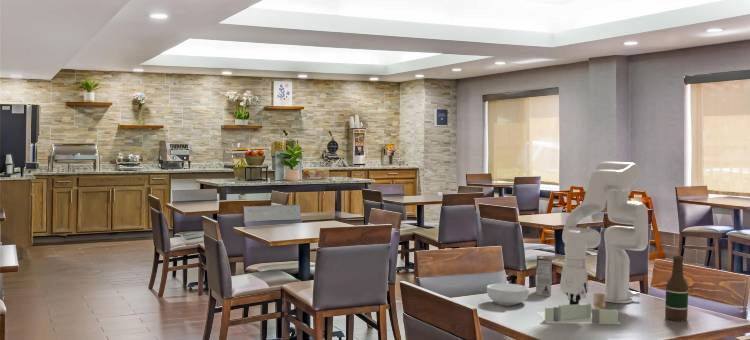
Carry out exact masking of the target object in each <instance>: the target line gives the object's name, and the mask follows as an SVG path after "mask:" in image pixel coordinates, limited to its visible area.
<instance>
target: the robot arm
mask: <svg viewBox="0 0 750 340" xmlns="http://www.w3.org/2000/svg"><path fill="white" fill-rule="evenodd" d="M640 173H641V171H640V167H639V165H638V164H636V163H634V162H628V161H627V162H625V161H623V162H622V161H602V162H599V163H597V164H596V166H595V170H594V171H593V172H592V173H591V175H590V177H589V180H588V183H587V184H588V185H587V186H586V187H587V188H586V190H585V194H584V197H583V201H582V203H580V204H579V205H577V206H576V207H575V208H574V209H573V210H572V211H571V212H570V213H569V214H568V216H567V217H566V220H565V222H564V226H563V230H562V235H561V238H562V242H563V244H565V245H564V246H565V250H564V258H563V261H564V265H562V269H561V274H560V284H559V286H560V290H561V291H562V293H563V294H564V295H566V296H567V298H568V299H567V300H568V301H569V305H572V304H580V303H579V302H580V301H581V299H586V298H587V294H588V291H589V290H588V289H589V279H588V278H589V277H588V270H587V267H586V261H587V260H586V257H587V256H586V255H587V249H595V248H598V246H599V245H600V244H601V241H602V238H601V237H602V236H601V234H600V232H599V231H598V230H597V229H595V228H585V227H577V225H578V223H579V222H580V221H582V220H583V219H585V218H587V217H589V216H593V215H595V214H599V213H600V212H602V211H603V212H604V210H605V209H606V210H607V212H606V213H607V218H608V220H609V221H610V222H612V223H616V224H620V225H611V226H608V227H607V228H605V230H604V233H603V238H604V239H603V240H604V246H605V277H604V278H605V279H604V280H605V283H604V294H605V295H606V297H605V303H606V302H607V303H610V304H611V303H612V304H631V303H632V302H633V297H634V298H636V297H637V298H640V297H641V292H639V291H637V292H636V291H632V290H630V264H631V263H630V262H631V260H630V256H629V255H628V253H627V251H626V250H628V251H635V252H636V251H638V252H641V251H645V250H646V249H647V248H648V244H649V213H648V208H647V206H646V204H645V203H643V202H641V201H640V202H639V201H632V200H630V199H629V197H630V196H629V189H630V188H631V187H632V186H633V185H635V183H637V181H638V180H639V178H640ZM606 206H607V207H606ZM621 224H623V225H621ZM624 225H632V226H633V227H632V226H624Z"/></svg>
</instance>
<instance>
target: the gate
mask: <svg viewBox="0 0 750 340" xmlns="http://www.w3.org/2000/svg"><path fill="white" fill-rule="evenodd" d="M557 307H558V308H559V316H558V319H559V320H566V319H577V318H589V317H591V312H592V303H590V302H589V303H588V302H585V303H579V304H572V305H570V304H563V305H562V304H561V305H558V306H557Z"/></svg>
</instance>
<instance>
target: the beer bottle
mask: <svg viewBox="0 0 750 340" xmlns="http://www.w3.org/2000/svg"><path fill="white" fill-rule="evenodd" d="M672 259H673V263H672V271H671V272H672V273H671V275H670V276H671V277H670V278H669V279H668V281H667V283H666V285H665V286H666V288H665V313H664V315H665V318H666V319H668V320H669V321H674V322H684V321H686V320H688V311H689V310H688V307H689V285H688V283H687V281H686V279H685V277H684V265H683V263H684V261H683V260H684V256H681V255H673V257H672Z"/></svg>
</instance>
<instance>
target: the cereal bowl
mask: <svg viewBox="0 0 750 340" xmlns="http://www.w3.org/2000/svg"><path fill="white" fill-rule="evenodd" d="M486 293H487V296H488V297H489V299H490V300H492V301H493V302H495V303H496V304H497V305H500V306H504V307H505V306H507V307H512V306H515V305H518V304H521V303H523V302H525V301H526V300H527V299H528V297H529V293H530V288H529V287H527V286H526V285H522V284H517V283H516V284H515V283H493V284H488V285H487V286H486Z"/></svg>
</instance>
